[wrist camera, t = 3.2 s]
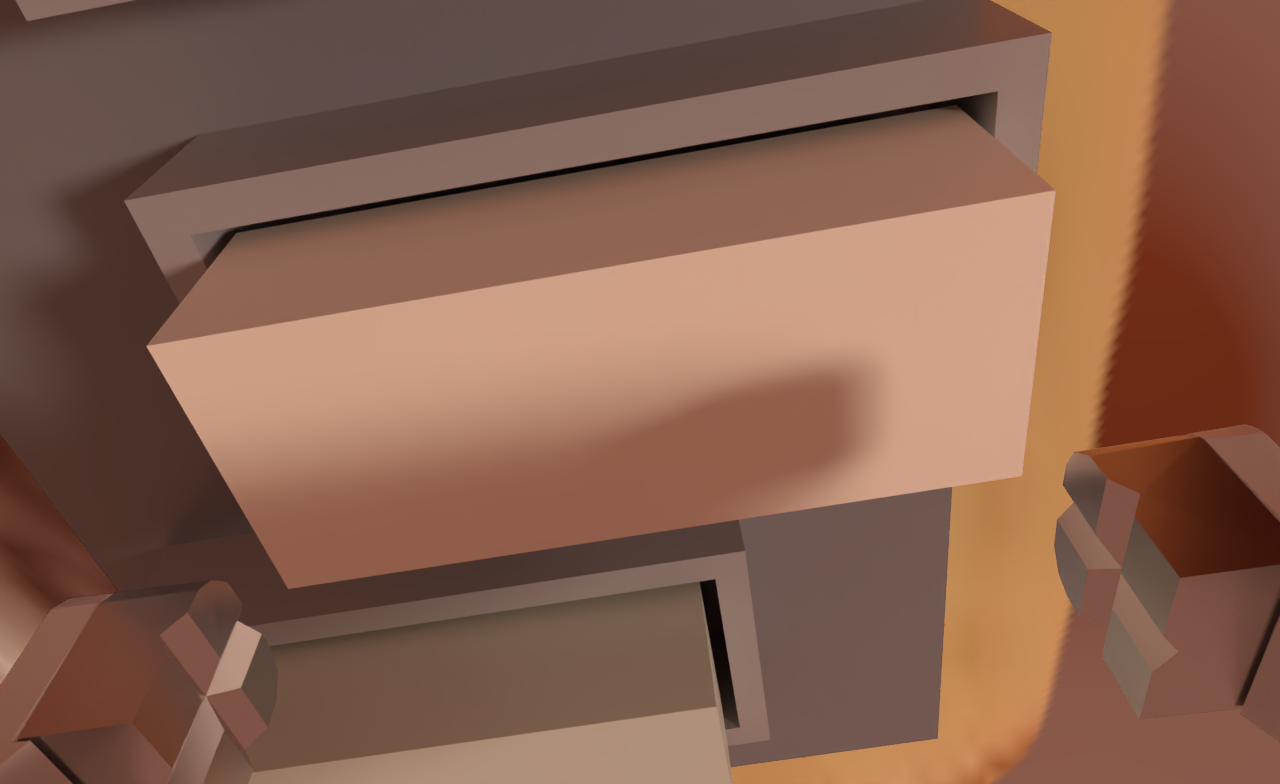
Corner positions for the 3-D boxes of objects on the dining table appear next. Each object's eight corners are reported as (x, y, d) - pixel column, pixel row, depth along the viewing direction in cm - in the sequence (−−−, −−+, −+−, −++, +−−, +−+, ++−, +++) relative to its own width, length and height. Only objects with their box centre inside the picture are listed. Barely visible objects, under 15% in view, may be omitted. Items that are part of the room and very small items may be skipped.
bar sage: (720, 696, 19) (740, 834, 16) (273, 760, 19) (226, 903, 17) (697, 568, 16) (715, 706, 14) (190, 645, 17) (122, 791, 14)
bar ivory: (944, 353, 14) (1021, 475, 11) (340, 452, 14) (288, 589, 12) (956, 104, 12) (1055, 189, 9) (236, 233, 12) (146, 346, 10)
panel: (894, 621, 27) (972, 833, 21) (330, 704, 28) (267, 926, 22) (905, -857, 11) (1229, -1519, 5) (-430, -539, 12) (-1310, -824, 6)
